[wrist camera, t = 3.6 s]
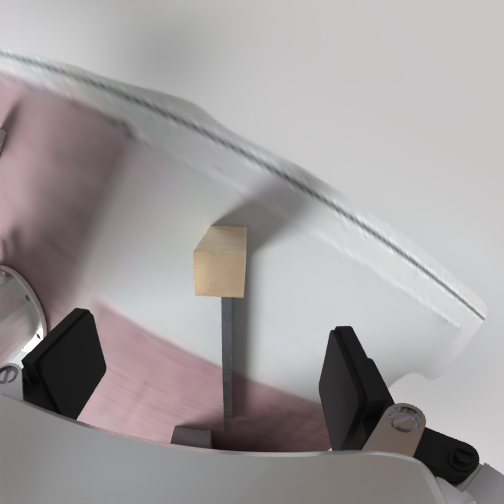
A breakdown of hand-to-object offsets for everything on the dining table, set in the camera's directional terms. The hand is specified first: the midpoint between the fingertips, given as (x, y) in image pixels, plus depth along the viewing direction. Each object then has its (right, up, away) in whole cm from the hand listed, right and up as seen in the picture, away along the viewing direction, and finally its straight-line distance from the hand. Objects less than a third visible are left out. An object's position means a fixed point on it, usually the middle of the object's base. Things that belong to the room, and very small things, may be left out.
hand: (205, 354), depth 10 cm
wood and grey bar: (-1, -6, +19) cm, 20 cm away
